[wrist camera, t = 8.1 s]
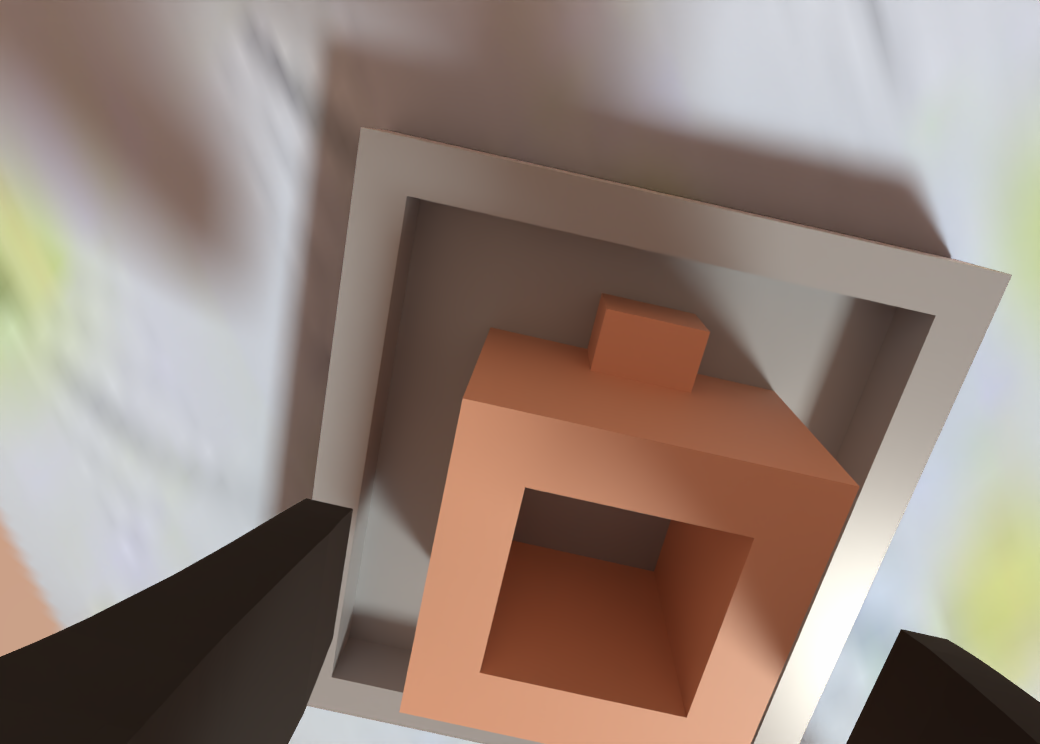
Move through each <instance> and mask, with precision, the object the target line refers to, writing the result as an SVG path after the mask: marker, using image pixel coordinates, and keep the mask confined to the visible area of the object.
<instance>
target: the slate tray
mask: <svg viewBox="0 0 1040 744" xmlns="http://www.w3.org/2000/svg"><path fill="white" fill-rule="evenodd" d="M1011 276H1012V275H1011V274H1007V273H1003V272H1000V271H996V270H992V269H989V268H985V267H981V266H978V265H974V264H970V263H967V262H963V261H959V260H956V259H951V258H947V257H943V256H938V255H934V254H929V253H925V252H921V251H916V250H912V249H908V248H903V247H899V246H894V245H890V244H886V243H881V242H877V241H872V240H868V239H864V238H859V237H855V236H850V235H846V234H842V233H837V232H833V231H828V230H824V229H820V228H815V227H811V226H806V225H802V224H798V223H793V222H789V221H784V220H780V219H776V218H771V217H767V216H762V215H758V214H754V213H749V212H745V211H740V210H736V209H732V208H727V207H723V206H718V205H714V204H710V203H705V202H701V201H696V200H692V199H688V198H683V197H679V196H674V195H670V194H666V193H661V192H657V191H653V190H648V189H644V188H639V187H635V186H631V185H626V184H622V183H617V182H613V181H609V180H604V179H600V178H595V177H591V176H587V175H582V174H578V173H573V172H569V171H565V170H560V169H556V168H551V167H547V166H543V165H538V164H534V163H529V162H525V161H521V160H516V159H512V158H507V157H503V156H499V155H494V154H490V153H485V152H481V151H477V150H472V149H468V148H463V147H459V146H455V145H450V144H446V143H441V142H437V141H433V140H428V139H424V138H419V137H415V136H411V135H406V134H402V133H397V132H393V131H389V130H382V129H374V128H366V127H361V129H360V137H359V144H358V152H357V159H356V167H355V175H354V182H353V190H352V198H351V205H350V213H349V220H348V228H347V236H346V243H345V251H344V259H343V266H342V274H341V281H340V289H339V297H338V304H337V312H336V320H335V327H334V335H333V342H332V350H331V358H330V365H329V373H328V381H327V388H326V396H325V403H324V411H323V419H322V426H321V434H320V442H319V449H318V457H317V464H316V472H315V480H314V487H313V495H312V500H316V501H320V502H325V503H329V504H334V505H338V506H343V507H347V508H352V509H353V513H352V519H351V525H350V532H349V538H348V545H347V551H346V558H345V564H344V571H343V577H342V583H341V590H340V596H339V603H338V609H337V616H336V622H335V629H334V635H333V640H332V642H331V645H330V648H329V650H328V653H327V655H326V658H325V661H324V663H323V666H322V668H321V671H320V673H319V676H318V679H317V681H316V684H315V686H314V689H313V691H312V694H311V696H310V699H309V701H308V704H307V706H311V707H315V708H320V709H325V710H329V711H334V712H339V713H343V714H348V715H353V716H357V717H362V718H367V719H371V720H376V721H380V722H385V723H390V724H394V725H399V726H404V727H408V728H413V729H418V730H422V731H427V732H432V733H436V734H441V735H445V736H450V737H455V738H459V739H464V740H469V741H473V742H478V743H483V744H544V743H540V742H535V741H530V740H526V739H521V738H516V737H512V736H507V735H502V734H498V733H493V732H489V731H484V730H479V729H475V728H470V727H465V726H461V725H456V724H452V723H447V722H442V721H438V720H433V719H428V718H424V717H419V716H414V715H410V714H405V713H401V712H399V711H400V706H401V701H402V696H403V691H404V686H405V681H406V676H407V671H408V666H409V661H410V657H411V652H412V647H413V642H414V637H415V632H416V627H417V622H418V617H419V612H420V607H421V602H422V597H423V592H424V587H425V582H426V577H427V572H428V567H429V562H430V557H431V552H432V548H433V543H434V538H435V533H436V528H437V523H438V518H439V513H440V508H441V503H442V498H443V493H444V488H445V483H446V478H447V473H448V468H449V463H450V458H451V453H452V448H453V443H454V439H455V434H456V429H457V424H458V419H459V414H460V409H461V404H462V399H463V396H464V393H465V391H466V388H467V386H468V383H469V381H470V378H471V376H472V373H473V371H474V368H475V366H476V363H477V361H478V358H479V355H480V353H481V350H482V348H483V345H484V343H485V340H486V338H487V335H488V333H489V330H490V328H491V327H492V328H496V329H501V330H505V331H509V332H514V333H518V334H523V335H527V336H532V337H536V338H541V339H545V340H550V341H554V342H559V343H563V344H567V345H572V346H576V347H581V348H585V349H587V348H588V344H589V341H590V337H591V333H592V329H593V325H594V321H595V317H596V314H597V310H598V306H599V302H600V298H601V294H602V293H605V294H609V295H613V296H618V297H622V298H627V299H631V300H636V301H640V302H644V303H649V304H653V305H658V306H662V307H667V308H671V309H676V310H680V311H684V312H689V313H693V314H696V316H697V317H698V318H699V319H700V320H701V322H702V323H703V324H704V325H705V326H706V328H707V329H708V330H709V331H710V334H709V338H708V341H707V344H706V347H705V350H704V353H703V356H702V360H701V363H700V366H699V369H698V372H697V374H701V375H706V376H710V377H715V378H719V379H724V380H728V381H732V382H737V383H741V384H746V385H750V386H755V387H759V388H764V389H768V390H773V391H775V393H776V394H777V395H778V396H779V397H780V398H781V399H782V400H783V401H784V403H785V404H786V405H787V406H788V407H789V408H790V409H791V410H792V412H793V413H794V414H795V415H796V416H797V417H798V418H799V419H800V420H801V422H802V423H803V424H804V425H805V426H806V427H807V428H808V429H809V431H810V432H811V433H812V434H813V435H814V436H815V437H816V438H817V439H818V441H819V442H820V443H821V444H822V445H823V446H824V447H825V448H826V450H827V451H828V452H829V453H830V454H831V455H832V456H833V457H834V458H835V460H836V461H837V462H838V463H839V464H840V465H841V466H842V467H843V469H844V470H845V471H846V472H847V473H848V474H849V475H850V476H851V477H852V479H853V480H854V481H855V482H856V483H857V484H858V485H859V486H860V487H859V490H858V492H857V494H856V497H855V499H854V501H853V504H852V506H851V508H850V511H849V513H848V515H847V518H846V520H845V523H844V525H843V527H842V530H841V532H840V534H839V537H838V539H837V541H836V544H835V546H834V548H833V551H832V553H831V555H830V558H829V560H828V563H827V565H826V567H825V570H824V572H823V574H822V577H821V579H820V581H819V584H818V586H817V588H816V591H815V593H814V596H813V598H812V600H811V603H810V605H809V607H808V610H807V612H806V614H805V617H804V619H803V621H802V624H801V626H800V629H799V631H798V633H797V636H796V638H795V640H794V643H793V645H792V647H791V650H790V652H789V654H788V657H787V659H786V662H785V664H784V666H783V669H782V671H781V673H780V676H779V678H778V680H777V683H776V685H775V687H774V690H773V692H772V695H771V697H770V699H769V702H768V704H767V706H766V709H765V711H764V713H763V716H762V718H761V720H760V723H759V725H758V728H757V730H756V732H755V735H754V737H753V739H752V742H751V744H799V743H800V741H801V738H802V736H803V734H804V732H805V730H806V727H807V725H808V723H809V721H810V719H811V716H812V714H813V712H814V710H815V708H816V705H817V703H818V701H819V699H820V697H821V694H822V692H823V690H824V688H825V686H826V683H827V681H828V679H829V677H830V675H831V672H832V670H833V668H834V666H835V664H836V661H837V659H838V657H839V655H840V653H841V650H842V648H843V646H844V644H845V642H846V639H847V637H848V635H849V633H850V631H851V628H852V626H853V624H854V622H855V620H856V617H857V615H858V613H859V611H860V609H861V606H862V604H863V602H864V600H865V598H866V595H867V593H868V591H869V589H870V586H871V584H872V582H873V580H874V578H875V575H876V573H877V571H878V569H879V567H880V564H881V562H882V560H883V558H884V556H885V553H886V551H887V549H888V547H889V545H890V542H891V540H892V538H893V536H894V534H895V531H896V529H897V527H898V525H899V523H900V520H901V518H902V516H903V514H904V512H905V509H906V507H907V505H908V503H909V501H910V498H911V496H912V494H913V492H914V490H915V487H916V485H917V483H918V481H919V479H920V476H921V474H922V472H923V470H924V468H925V465H926V463H927V461H928V459H929V457H930V454H931V452H932V450H933V448H934V446H935V443H936V441H937V439H938V437H939V435H940V432H941V430H942V428H943V426H944V424H945V421H946V419H947V417H948V415H949V413H950V410H951V408H952V406H953V404H954V401H955V399H956V397H957V395H958V393H959V390H960V388H961V386H962V384H963V382H964V379H965V377H966V375H967V373H968V371H969V368H970V366H971V364H972V362H973V360H974V357H975V355H976V353H977V351H978V349H979V346H980V344H981V342H982V340H983V338H984V335H985V333H986V331H987V329H988V327H989V324H990V322H991V320H992V318H993V316H994V313H995V311H996V309H997V307H998V305H999V302H1000V300H1001V298H1002V296H1003V294H1004V291H1005V289H1006V287H1007V285H1008V283H1009V280H1010V278H1011ZM670 521H671V519H666V518H662V517H657V516H653V515H648V514H644V513H639V512H634V511H630V510H625V509H621V508H616V507H612V506H607V505H603V504H598V503H594V502H589V501H585V500H580V499H576V498H571V497H567V496H562V495H558V494H553V493H549V492H544V491H539V490H535V489H530V488H526V487H525V490H524V494H523V498H522V502H521V506H520V510H519V514H518V518H517V522H516V527H515V531H514V535H513V539H512V540H513V541H517V542H522V543H526V544H531V545H536V546H540V547H545V548H549V549H554V550H558V551H563V552H567V553H572V554H576V555H581V556H586V557H590V558H595V559H599V560H604V561H608V562H613V563H617V564H622V565H626V566H631V567H636V568H640V569H645V570H649V571H654V570H655V567H656V564H657V561H658V558H659V555H660V552H661V549H662V546H663V543H664V539H665V536H666V533H667V530H668V527H669V524H670Z"/></svg>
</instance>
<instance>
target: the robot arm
mask: <svg viewBox="0 0 1040 744" xmlns="http://www.w3.org/2000/svg"><path fill="white" fill-rule="evenodd" d="M352 513H353V509H352V508H347V507H343V506H338V505H334V504H329V503H325V502H320V501H316V500H311V499H307V498H306V499H305V500H303V501H301V502H299V503H297V504H296V505H294V506H292V507H291V508H289V509H287V510H285V511H284V512H282V513H280V514H278V515H277V516H275V517H273V518H272V519H270V520H268V521H267V522H265V523H263V524H261V525H260V526H258V527H256V528H255V529H253V530H251V531H250V532H248V533H246V534H245V535H243V536H241V537H239V538H238V539H236V540H234V541H233V542H231V543H229V544H228V545H226V546H224V547H222V548H221V549H219V550H217V551H215V552H214V553H212V554H210V555H208V556H206V557H205V558H203V559H201V560H199V561H198V562H196V563H194V564H192V565H190V566H189V567H187V568H185V569H183V570H182V571H180V572H178V573H176V574H174V575H172V576H170V577H169V578H167V579H165V580H163V581H161V582H159V583H157V584H155V585H153V586H151V587H149V588H147V589H145V590H143V591H141V592H139V593H137V594H135V595H133V596H131V597H129V598H127V599H125V600H123V601H121V602H119V603H117V604H115V605H113V606H111V607H109V608H107V609H105V610H103V611H101V612H99V613H98V614H96V615H94V616H92V617H90V618H87V619H85V620H83V621H81V622H79V623H77V624H75V625H72V626H70V627H68V628H66V629H64V630H62V631H59V632H57V633H55V634H53V635H50V636H48V637H46V638H44V639H42V640H40V641H37V642H35V643H32V644H30V645H28V646H25V647H23V648H21V649H18V650H16V651H13V652H11V653H9V654H6V655H4V656H1V657H0V744H288V743H289V741H290V739H291V737H292V735H293V733H294V731H295V729H296V727H297V725H298V723H299V721H300V719H301V718H302V716H303V714H304V711H305V709H306V706H307V704H308V701H309V699H310V696H311V694H312V691H313V689H314V686H315V684H316V681H317V679H318V676H319V673H320V671H321V668H322V666H323V663H324V661H325V658H326V655H327V653H328V650H329V648H330V645H331V642H332V640H333V635H334V629H335V622H336V616H337V609H338V603H339V596H340V590H341V583H342V577H343V571H344V564H345V558H346V551H347V545H348V538H349V532H350V525H351V519H352ZM846 744H1040V702H1039V701H1037V700H1036V699H1034V698H1033V697H1032V696H1030V695H1029V694H1028V693H1026V692H1025V691H1023V690H1022V689H1021V688H1019V687H1018V686H1017V685H1015V684H1014V683H1012V682H1011V681H1010V680H1008V679H1007V678H1005V677H1004V676H1003V675H1001V674H1000V673H998V672H997V671H995V670H994V669H993V668H991V667H990V666H988V665H987V664H985V663H984V662H982V661H981V660H979V659H978V658H976V657H975V656H973V655H972V654H970V653H969V652H967V651H966V650H964V649H962V648H961V647H959V646H957V645H956V644H954V643H952V642H951V641H949V640H947V639H943V638H938V637H934V636H929V635H925V634H920V633H916V632H911V631H907V630H902V629H901V631H900V633H899V635H898V637H897V639H896V641H895V643H894V645H893V647H892V649H891V651H890V653H889V656H888V658H887V660H886V662H885V664H884V666H883V668H882V670H881V672H880V674H879V676H878V679H877V681H876V683H875V685H874V687H873V689H872V691H871V693H870V695H869V697H868V699H867V701H866V704H865V706H864V708H863V710H862V712H861V714H860V716H859V718H858V720H857V722H856V724H855V727H854V729H853V731H852V733H851V735H850V737H849V739H848V741H847V743H846Z"/></svg>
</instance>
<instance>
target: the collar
mask: <svg viewBox="0 0 1040 744" xmlns="http://www.w3.org/2000/svg"><path fill="white" fill-rule="evenodd" d="M709 334H710V331H709V330H708V329H707V328H706V326H705V325H704V324H703V323H702V322H701V320H700V319H699V318H698V317H697V316H696V314H693V313H689V312H684V311H680V310H676V309H671V308H667V307H662V306H658V305H653V304H649V303H644V302H640V301H636V300H631V299H627V298H622V297H618V296H613V295H609V294H605V293H602V294H601V298H600V302H599V306H598V310H597V314H596V317H595V321H594V325H593V329H592V333H591V337H590V341H589V344H588V348H587V349H585V348H581V347H576V346H572V345H567V344H563V343H559V342H554V341H550V340H545V339H541V338H536V337H532V336H527V335H523V334H518V333H514V332H509V331H505V330H501V329H496V328H492V327H491V328H490V330H489V333H488V335H487V338H486V340H485V343H484V345H483V348H482V350H481V353H480V355H479V358H478V361H477V363H476V366H475V368H474V371H473V373H472V376H471V378H470V381H469V383H468V386H467V388H466V391H465V393H464V396H463V399H462V404H461V409H460V414H459V419H458V424H457V429H456V434H455V439H454V443H453V448H452V453H451V458H450V463H449V468H448V473H447V478H446V483H445V488H444V493H443V498H442V503H441V508H440V513H439V518H438V523H437V528H436V533H435V538H434V543H433V548H432V552H431V557H430V562H429V567H428V572H427V577H426V582H425V587H424V592H423V597H422V602H421V607H420V612H419V617H418V622H417V627H416V632H415V637H414V642H413V647H412V652H411V657H410V661H409V666H408V671H407V676H406V681H405V686H404V691H403V696H402V701H401V706H400V711H399V712H401V713H405V714H410V715H414V716H419V717H424V718H428V719H433V720H438V721H442V722H447V723H452V724H456V725H461V726H465V727H470V728H475V729H479V730H484V731H489V732H493V733H498V734H502V735H507V736H512V737H516V738H521V739H526V740H530V741H535V742H540V743H544V744H751V742H752V739H753V737H754V735H755V732H756V730H757V728H758V725H759V723H760V720H761V718H762V716H763V713H764V711H765V709H766V706H767V704H768V702H769V699H770V697H771V695H772V692H773V690H774V687H775V685H776V683H777V680H778V678H779V676H780V673H781V671H782V669H783V666H784V664H785V662H786V659H787V657H788V654H789V652H790V650H791V647H792V645H793V643H794V640H795V638H796V636H797V633H798V631H799V629H800V626H801V624H802V621H803V619H804V617H805V614H806V612H807V610H808V607H809V605H810V603H811V600H812V598H813V596H814V593H815V591H816V588H817V586H818V584H819V581H820V579H821V577H822V574H823V572H824V570H825V567H826V565H827V563H828V560H829V558H830V555H831V553H832V551H833V548H834V546H835V544H836V541H837V539H838V537H839V534H840V532H841V530H842V527H843V525H844V523H845V520H846V518H847V515H848V513H849V511H850V508H851V506H852V504H853V501H854V499H855V497H856V494H857V492H858V490H859V487H860V486H859V485H858V484H857V483H856V482H855V481H854V480H853V479H852V477H851V476H850V475H849V474H848V473H847V472H846V471H845V470H844V469H843V467H842V466H841V465H840V464H839V463H838V462H837V461H836V460H835V458H834V457H833V456H832V455H831V454H830V453H829V452H828V451H827V450H826V448H825V447H824V446H823V445H822V444H821V443H820V442H819V441H818V439H817V438H816V437H815V436H814V435H813V434H812V433H811V432H810V431H809V429H808V428H807V427H806V426H805V425H804V424H803V423H802V422H801V420H800V419H799V418H798V417H797V416H796V415H795V414H794V413H793V412H792V410H791V409H790V408H789V407H788V406H787V405H786V404H785V403H784V401H783V400H782V399H781V398H780V397H779V396H778V395H777V394H776V393H775V391H773V390H768V389H764V388H759V387H755V386H750V385H746V384H741V383H737V382H732V381H728V380H724V379H719V378H715V377H710V376H706V375H701V374H697V372H698V369H699V366H700V363H701V360H702V356H703V353H704V350H705V347H706V344H707V341H708V338H709ZM525 487H526V488H530V489H535V490H539V491H544V492H549V493H553V494H558V495H562V496H567V497H571V498H576V499H580V500H585V501H589V502H594V503H598V504H603V505H607V506H612V507H616V508H621V509H625V510H630V511H634V512H639V513H644V514H648V515H653V516H657V517H662V518H666V519H671V521H670V524H669V527H668V530H667V533H666V536H665V539H664V543H663V546H662V549H661V552H660V555H659V558H658V561H657V564H656V567H655V570H654V571H649V570H645V569H640V568H636V567H631V566H626V565H622V564H617V563H613V562H608V561H604V560H599V559H595V558H590V557H586V556H581V555H576V554H572V553H567V552H563V551H558V550H554V549H549V548H545V547H540V546H536V545H531V544H526V543H522V542H517V541H513V540H512V539H513V535H514V531H515V527H516V522H517V518H518V514H519V510H520V506H521V502H522V498H523V494H524V490H525Z"/></svg>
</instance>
